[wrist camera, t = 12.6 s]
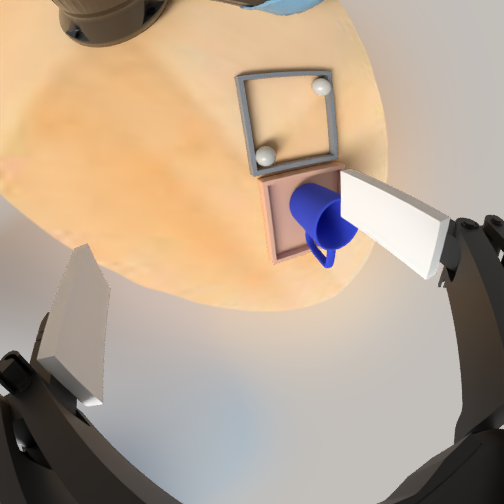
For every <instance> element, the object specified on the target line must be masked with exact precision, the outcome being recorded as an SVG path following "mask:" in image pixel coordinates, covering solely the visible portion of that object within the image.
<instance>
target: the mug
mask: <svg viewBox="0 0 504 504" xmlns="http://www.w3.org/2000/svg"><path fill="white" fill-rule="evenodd" d="M289 208H290V212H291V214H292V216H293V217H294V219H295V220H296V221H297V222H298V223H299V224H300V225H301V226H302V227H303V229H304V230H305V238H306V242H307V244H308V246H309V248H310V250H311V251H312V253H313V254H314V255H315V257H316V258H317V259H318V260H319V261H320V263H321V264H322V265H323V266H324V267H325V268H330V267H332V266H333V263H334V259H335V252H336V249H339V248H341V247H343V246H345V245H346V244H347V243H349V242H350V241H351V240H352V238H353V237H354V236H355V234H356V232H357V230H358V228H357V227H355V226H354V225H353V224H351V223H350V222H348V221H347V220H345V219H344V218H342V217H341V194H340V193H337V192H335V191H332V190H330V189H328V188H325V187H323V186H320V185H317V184H314V183H307V184H303V185H301V186H299V187H298V188H297V189H296V190H295V191H294V192H293V194H292V196H291V198H290V202H289ZM314 241H315V242H316V243H317V244H318V245H319V246H320V247H321V248H323V249H325V250H327V257H325V256H324V255H323V254H322V252H321V251H320V250H319V249H318V247H317V246H316V244H315V243H314Z"/></svg>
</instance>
